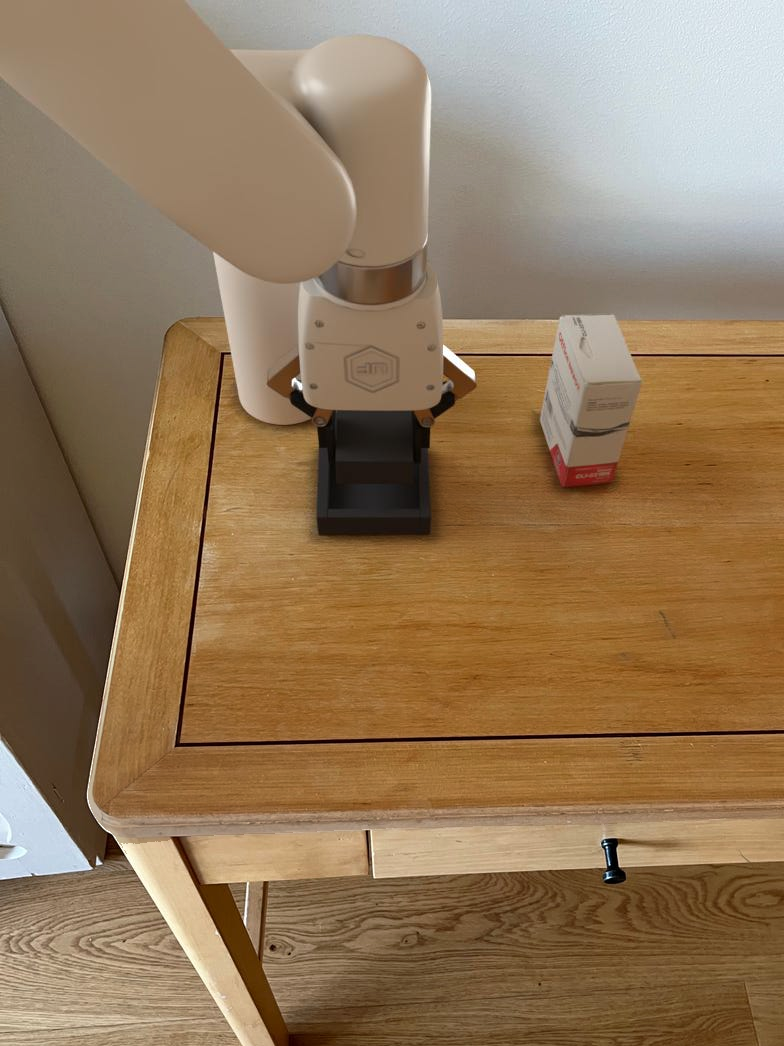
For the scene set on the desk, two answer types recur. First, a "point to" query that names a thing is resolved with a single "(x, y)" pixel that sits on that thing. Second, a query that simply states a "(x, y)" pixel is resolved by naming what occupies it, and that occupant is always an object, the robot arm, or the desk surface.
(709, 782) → the desk surface
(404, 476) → the black pad
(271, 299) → the cup
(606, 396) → the ink box
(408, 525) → the socket pad
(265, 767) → the desk surface
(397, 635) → the desk surface
